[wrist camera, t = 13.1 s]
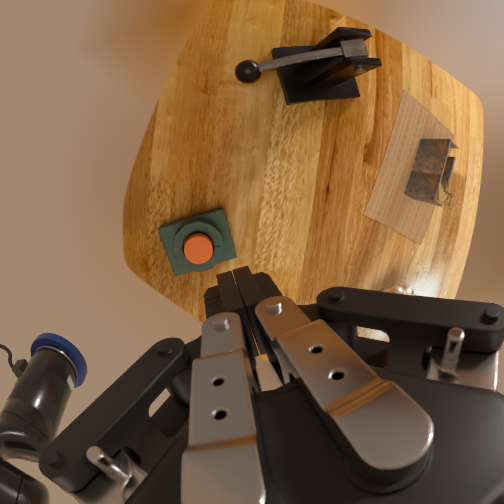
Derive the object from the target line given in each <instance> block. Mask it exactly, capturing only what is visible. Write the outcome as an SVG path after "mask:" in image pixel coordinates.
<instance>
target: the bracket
mask: <svg viewBox="0 0 504 504" xmlns="http://www.w3.org/2000/svg"><path fill="white" fill-rule="evenodd" d="M370 37H372V35H371V33H370V30H367V29H358V28H347V27H338V28H337V29H335V30H334V31H333V32H332V33H330V34H329V35H328V36H327V37H325V38H324V39H323V40H322V41H321V42H319V43H318V44H317V45H316V46H295V47H280V48H273V49H272V51H271V52H272V55H273V59H274V60H275V59H279V58H283V57H287V56H292V55H296V54H301V53H306V52H311V51H317V50H323V49H329V48H336V47H339V45H340V41H345V40H354V39H363V41H365V40H366V39H368V38H370ZM380 66H382V64H381V61H380V59H379V58H365V57H349V58H347V59H345V60H343V57H338V58H331V59H325V60H319V61H313V62H308V63H303V64H298V65H293V66H289V67H284V68H280V69H277V72H278V75H279V79H280V82H281V85H282V89H283V93H284V96H285V100H286V104H287V105H291V104H298V103H305V102H314V101H323V100H333V99H345V98H357V97H360V94H359V90H358V87H357V83H356V80H355V77H356V76H358V75H361V74H363V73H365V72H368V71H370V70H372V69H375V68H377V67H380Z"/></svg>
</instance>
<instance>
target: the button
mask: <svg viewBox="0 0 504 504" xmlns="http://www.w3.org/2000/svg"><path fill="white" fill-rule="evenodd" d="M212 253H213V247H212V242H211V240H210V239H209V237H208V236H206V235H205V234H202V233H195V234H192V235H190V236H189V237H188V238H187V240H186V241H185V245H184V254H185V256H186V258H187V259H188V260H189V261H190V262H192V263H194V264H202V263H205V262H207V261H208V260H209V259H210V258H211V256H212Z"/></svg>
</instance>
